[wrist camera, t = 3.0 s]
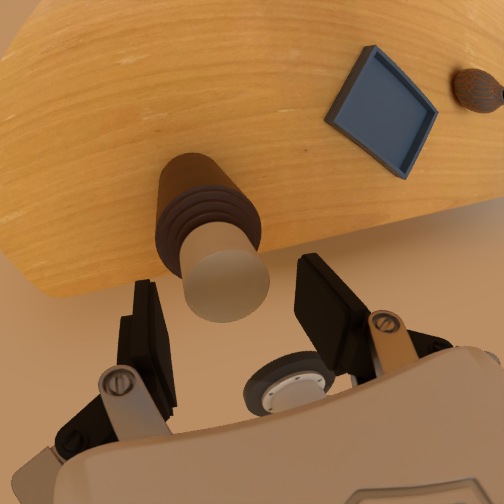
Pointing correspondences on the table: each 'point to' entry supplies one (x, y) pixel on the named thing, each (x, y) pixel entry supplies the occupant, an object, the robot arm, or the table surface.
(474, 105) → the vase
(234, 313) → the cap
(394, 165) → the tray
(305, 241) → the table surface
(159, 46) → the table surface
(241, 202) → the bottle
